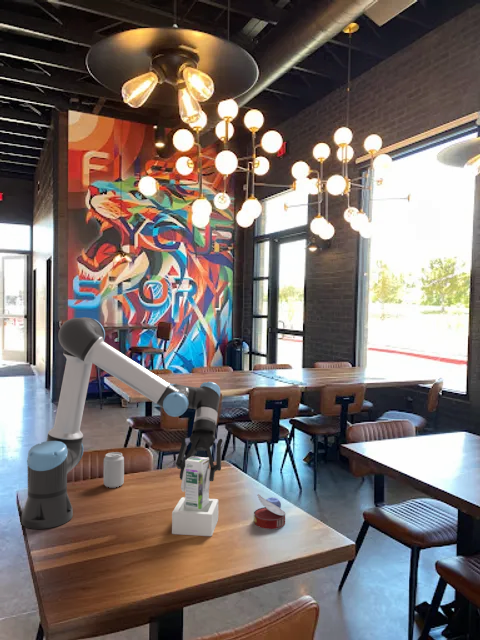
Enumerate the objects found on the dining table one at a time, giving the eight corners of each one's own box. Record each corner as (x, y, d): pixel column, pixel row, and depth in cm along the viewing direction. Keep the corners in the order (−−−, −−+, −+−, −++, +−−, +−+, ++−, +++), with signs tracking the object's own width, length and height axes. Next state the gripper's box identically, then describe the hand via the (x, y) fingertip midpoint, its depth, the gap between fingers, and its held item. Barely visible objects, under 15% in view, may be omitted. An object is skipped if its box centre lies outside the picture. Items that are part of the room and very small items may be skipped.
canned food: (262, 530, 160) (267, 498, 164) (289, 535, 154) (294, 502, 158) (243, 524, 152) (249, 491, 156) (271, 529, 146) (276, 494, 150)
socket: (211, 536, 145) (211, 514, 145) (172, 533, 146) (172, 512, 146) (218, 519, 157) (218, 499, 157) (181, 517, 158) (181, 497, 158)
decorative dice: (273, 515, 161) (273, 502, 161) (264, 511, 163) (264, 499, 163) (281, 511, 164) (281, 499, 164) (271, 508, 166) (271, 496, 166)
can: (112, 490, 182) (112, 458, 182) (99, 485, 186) (99, 454, 186) (128, 484, 188) (128, 453, 188) (115, 480, 192) (115, 450, 192)
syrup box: (184, 507, 150) (184, 459, 150) (193, 500, 155) (193, 454, 155) (201, 510, 148) (201, 462, 147) (209, 502, 153) (209, 456, 153)
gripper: (235, 431, 165) (228, 497, 149) (178, 429, 168) (165, 494, 152) (233, 418, 160) (225, 485, 144) (174, 417, 162) (160, 483, 146)
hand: (194, 490), depth 148 cm, fingers closed on syrup box, 7 cm apart
